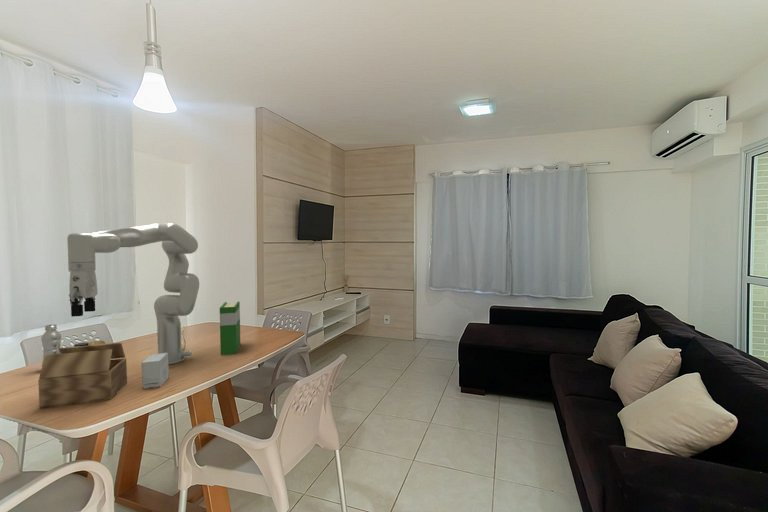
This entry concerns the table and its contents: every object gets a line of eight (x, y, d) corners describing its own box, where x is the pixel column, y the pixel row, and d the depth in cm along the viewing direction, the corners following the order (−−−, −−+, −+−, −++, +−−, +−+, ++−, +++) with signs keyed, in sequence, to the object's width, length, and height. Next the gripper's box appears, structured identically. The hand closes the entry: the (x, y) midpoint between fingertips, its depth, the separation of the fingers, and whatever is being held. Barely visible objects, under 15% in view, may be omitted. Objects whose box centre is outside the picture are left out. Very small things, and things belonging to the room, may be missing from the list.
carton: (127, 382, 138) (126, 358, 138) (111, 399, 123) (110, 371, 123) (64, 390, 131) (63, 364, 131) (39, 409, 116) (38, 379, 116)
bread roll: (110, 351, 180) (109, 336, 180) (103, 360, 167) (103, 343, 167) (86, 354, 176) (85, 339, 175) (77, 363, 162) (77, 346, 162)
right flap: (125, 357, 138) (125, 356, 138) (120, 343, 134) (121, 342, 134) (64, 363, 131) (65, 362, 132) (58, 349, 127) (59, 348, 128)
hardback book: (225, 345, 189) (224, 302, 188) (240, 344, 191) (239, 301, 191) (220, 355, 172) (219, 307, 172) (236, 353, 174) (235, 306, 174)
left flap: (112, 349, 126) (111, 349, 126) (108, 371, 123) (108, 371, 122) (45, 355, 120) (45, 355, 119) (39, 378, 116) (39, 378, 116)
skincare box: (151, 378, 142) (151, 353, 142) (169, 377, 144) (168, 352, 144) (141, 389, 132) (140, 362, 132) (160, 386, 134) (160, 360, 134)
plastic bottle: (50, 367, 157) (48, 324, 156) (66, 366, 157) (64, 323, 157) (37, 372, 150) (35, 327, 150) (54, 372, 151) (52, 326, 150)
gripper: (83, 268, 119) (85, 317, 120) (104, 265, 135) (106, 308, 136) (56, 268, 117) (57, 319, 117) (81, 266, 133) (82, 310, 133)
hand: (83, 313), depth 126 cm, fingers open, 9 cm apart
